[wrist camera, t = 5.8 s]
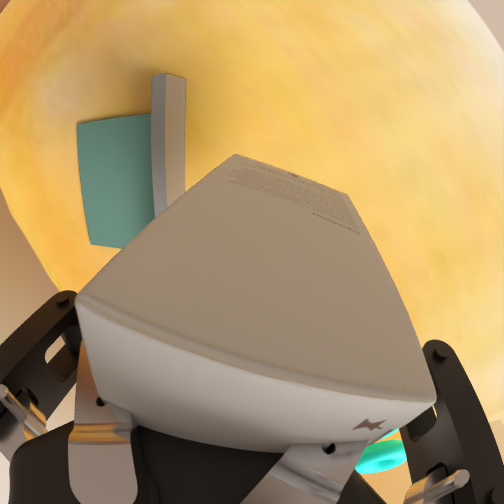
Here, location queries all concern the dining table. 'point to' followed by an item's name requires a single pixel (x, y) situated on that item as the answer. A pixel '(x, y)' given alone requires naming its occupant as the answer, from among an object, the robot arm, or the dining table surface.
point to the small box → (255, 319)
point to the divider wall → (167, 139)
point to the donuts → (381, 456)
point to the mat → (116, 178)
